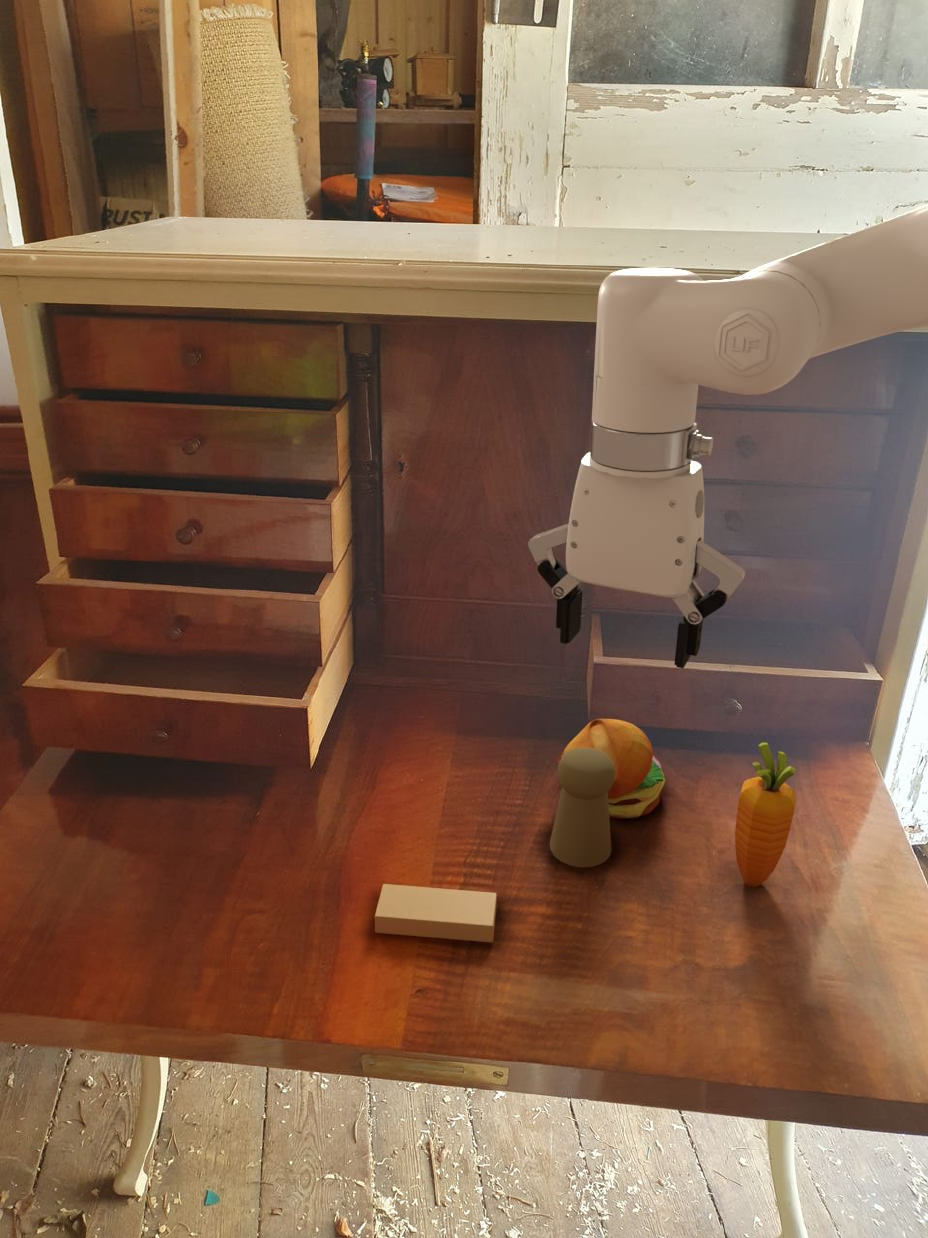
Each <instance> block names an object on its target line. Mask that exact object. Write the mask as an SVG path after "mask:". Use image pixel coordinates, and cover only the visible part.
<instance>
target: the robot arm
mask: <svg viewBox="0 0 928 1238" xmlns="http://www.w3.org/2000/svg"><path fill="white" fill-rule="evenodd" d="M596 310H597V311H596V327H595V328H596V329H595V332H596V333H595V346H594V347H595V350H594V367H593V368H594V369H593V386H592V387H593V391H592V407H591V408H592V410H591V425H590V426H591V427H590V443H589V444H590V445H589V452H587V453H586V454H585V455H584V456H583V457H582V459H581V462H580V465H579V469H578V472H577V476H576V480H575V485H574V489H573V494H572V499H571V505H570V511H569V519H568V523H565V524H562V525H560V526H557V527H554V528H552V529H548V530H545V531H543V532H540V533H537V534H535V535H534V536H532V538H530V539H529V540H528V542H527V547H528V549H529V551H530V554H531V556H532V559H533V560H534V562H535V564H536V565H537V572H538V574H539V575H540V576H541V578H542V579H543V580H544V581H545V583H546V584H547V585H548V586H549V588H550V589H551V594H552V596H553V598H555V599H556V613H555V614H556V616H555V627H556V629H559V631H560V633H559V634H560V636H559V643H560V644H564V645H568V644H570V643H571V642H572V641H573V640H574V638H575V637H577V635H578V634H579V633H580V631H581V626H582V611H583V610H582V609H583V608H582V607H583V590H582V587H580V586H579V584H580V583H584V584H589V585H595V586H599V587H605V588H609V589H610V588H611V589H616V590H620V591H627V592H632V593H638V594H643V595H649V596H656V597H662V598H671V600H672V601H673V602H674V604H675V605H676V606H677V607H676V608H678V610H679V611H680V613H681V614H682V618H681V619H680V621H679V622H678V625H677V634H676V645H675V654H674V666H676V668H679V669H684V668H685V667H686V665H687V663H688V661H689V660H690V658H691V657H692V656H693V657H697V656H698V653H700V648H701V640H702V634H703V633H702V631H703V623H704V619H705V618H707V617H709V616H710V615H712V614H713V613H715V612H716V611H718V610H719V609H721V608H723V607H724V606H725V604H726V602H727V601H728V600H729V599H730V597H731V596H732V595H733V594H734V593H735V591H736V590H737V589H738V587H739V586H740V585H741V583H742V582H743V581H744V578H745V577H746V570H745V569H744V568H743V567H741V566H740V565H739V564H737V563H736V562H734V561H732V560H731V559H729V558H728V557H726V556H725V555H724V554H722V553H720V552H719V551H717V550H716V549H715V548H713V547H712V546H710V545H708V544H707V542H705V539H704V538H705V485H704V484H705V482H704V474H703V473H704V472H703V466H702V464H701V463H700V462H698V461H694V460H693V459H694V458H696V457H701V456H705V457H710V456H711V454H712V451H713V447H714V438H713V437H710V436H704V434H701V433H700V434H699V430H698V423H697V422H696V416H697V415H696V414H697V406H698V405H697V403H698V394H699V386H702V387H706V388H708V389H709V388H710V389H714V390H718V391H721V392H726V393H731V394H734V395H735V394H736V395H742V396H743V395H744V396H755V395H764V394H769V393H770V392H774V391H776V390H779V389H780V388H782V387H784V386H785V385H787V384H789V382H791V381H792V380H793V379H794V378H795V377H796V376H797V375H798V374H799V373H800V372H801V370H802V369H803V368H804V366H805V365H806V363H808V361H809V360H810V359H812V358H813V359H814V358H815V357H819V356H822V355H824V354H828V353H830V352H834V351H837V350H841V349H844V348H847V347H851V346H853V345H856V344H859V343H863V342H866V341H870V340H873V339H876V338H880V337H883V336H887V335H892V334H895V333H899V332H903V331H908V330H912V329H919V328H924V327H928V203H926V204H924V205H923V204H922V205H921V206H919V207H917V208H914V209H912V210H910V211H907V212H905V213H902V214H900V215H897V216H895V217H892V218H889V219H886V220H884V221H881V222H878V223H875V224H873V225H870V226H867V227H865V228H862V229H860V230H857V231H853V232H851V233H848V234H846V235H842V236H841V237H837V238H835V239H832V240H829V241H826V242H824V243H821V244H818V245H816V246H813V247H810V248H807V249H804V250H802V251H799V252H795V253H793V254H790V255H788V256H785V257H782V258H779V259H776V260H773V261H771V262H769V263H766V264H763V265H761V266H758V267H756V268H754V269H752V270H750V271H748V272H746V273H744V274H742V275H741V276H737V277H734V278H733V277H732V278H730V279H721V280H704V279H703V278H702V277H701V276H699V275H698V274H697V273H694V272H692V271H689V270H684V269H677V268H667V267H634V268H627V269H620V270H617V271H614V272H611V273H610V274H609V275H607V276H606V277H605V278H604V279H603V281H602V282H601V285H600V287H599V290H598V298H597V309H596ZM564 544H565V545H566V546H565V567H564V566H563V565H562V564H561V562H560V561H559V560H558V559H557V558H556V557H554V553H553V550H552V549H553V548H554V547H558V546H561V545H564ZM702 568H703V569H705V570H707V571H708V572H709V573H711V574H712V575H714V576H715V577H717V579H718V580H719V583H718V584H717V586H716V587H714V588H713V589H711V590H709V591H708V592H707V593H704V592H703V590H702V589H701V587H700V586H699V584H698V583H697V582H696V580H695V579H698V578H699V575H700V573H701V570H702Z"/></svg>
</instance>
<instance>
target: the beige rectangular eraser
mask: <svg viewBox="0 0 928 1238" xmlns="http://www.w3.org/2000/svg"><path fill="white" fill-rule="evenodd" d="M380 890H381V891H380V894H379V898H378V902H377V906H376V910H375V913H374V932H375V933H376V934H389V935H398V936H399V935H400V936H410V937H411V936H412V937H422V938H423V937H425V938H434V939H447V940H448V939H449V940H458V941H471V942H473V941H474V942H482V943H494V933H495V925H496V915H497V902H498V901H497V896H498V894H497V892H490V891H479V890H478V891H477V890H467V889H466V890H465V889H455V888H454V889H451V888H439V887H426V886H416V885H415V886H414V885H404V884H403V885H401V884H390V883H383V884H382V887H381V889H380Z"/></svg>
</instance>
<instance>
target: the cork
mask: <svg viewBox="0 0 928 1238" xmlns="http://www.w3.org/2000/svg"><path fill="white" fill-rule="evenodd" d="M557 778H558V780H559V785H560V786H561V792H560V795H559V799H558V805H557V810H556V813H555V818H554V822H553V825H552V826H553V827H552V831H551V836H550V841H549V850H550V852H551V853H552V855H553V856H554V857H555V858H556V859H557V860H559V861H560V863H563V864H565V865H568V866H571V867H575V868H592V867H596V866H599V865H601V864H603V863H605V862H606V861H607V860H608V859H609V858H610V857H611V853H612V840H611V837H612V836H611V823H610V817H609V807H608V791H609V789H610V788H611V787H612V784H613V781H614V778H615V769H614V765H613V762H612V761H611V759H610V758H609V756H608V755H607V754H605V753H604V752H602V751H600V750H597V749H594V748H588V747H580V748H575V749H572V750H570V751H568V752H567V753H566V754H565V755H564V756H563V757H562V758H561V760H560V763H559V762H558V766H557Z"/></svg>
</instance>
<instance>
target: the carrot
mask: <svg viewBox="0 0 928 1238" xmlns="http://www.w3.org/2000/svg"><path fill="white" fill-rule="evenodd" d="M757 746H758V749H759V752H760V755H761V758H762V760H763V763H764V767H765V769H764V768H763V767H762V765H761V764H760V762H757V761H754V762H752V766H753V768H754V769H755V771H756V775H757V776H755V777H752V778H748V779H746V780H744V781H743V783H742V785H741V788H740V789H741V790H740V794H739V797H738V804H737V812H736V819H735V828H734V829H735V830H734V842H735V843H734V846H735V857H736V859H735V860H736V864H737V867H738V870H739V873H740V875H741V877H742V880H743V882H744V883H745V884H746V885H747V886H748V887H752V888H756V887H760V886H761V885H762V884H763V883H764V882H765V881H767V880H768V879H769V877H770V876H771V875H772V874H773V872H774V871H775V870H776V867H777V866H778V864H779V861H780V860H781V858H782V855H783V853H784V850H785V848H786V845H787V842H788V838H789V835H790V830H791V827H792V822H793V819H794V814H795V809H796V808H795V807H796V801H797V792H796V791H795V790H794V789H793V788H792V787H791V786H789V785H788V784H787V783H786V782H787V781H788V780H789V779H790V778H791V777H793V776H794V775H795V774H796V772H797V769H796V768H795V767H794V766H792V765H789V766H787V764H788V755H787V754H786V753H785V752H784V751H777V757H776V758H777V759H776V760H777V761H776V762H777V763H776V768H775V763H774V758H773V755H772V751H771V749H770V746H769V744H768V742H761V743H759V744H758V745H757Z"/></svg>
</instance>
